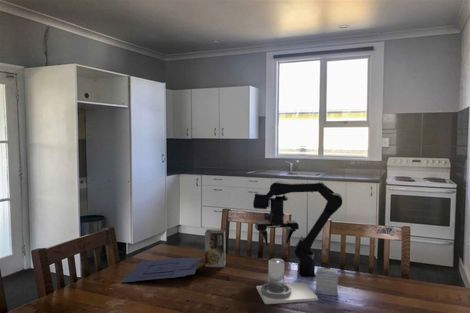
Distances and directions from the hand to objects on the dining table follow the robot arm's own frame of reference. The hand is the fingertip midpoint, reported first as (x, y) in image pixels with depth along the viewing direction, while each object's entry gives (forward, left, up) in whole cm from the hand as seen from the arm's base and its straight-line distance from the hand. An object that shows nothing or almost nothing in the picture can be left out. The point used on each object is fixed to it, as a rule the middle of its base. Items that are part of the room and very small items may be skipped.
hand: (276, 244), depth 162 cm
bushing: (+7, +24, -11) cm, 27 cm away
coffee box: (+26, -12, -12) cm, 31 cm away
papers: (+49, -5, -12) cm, 51 cm away
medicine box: (-13, +25, -12) cm, 31 cm away
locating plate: (+3, +24, -12) cm, 27 cm away
